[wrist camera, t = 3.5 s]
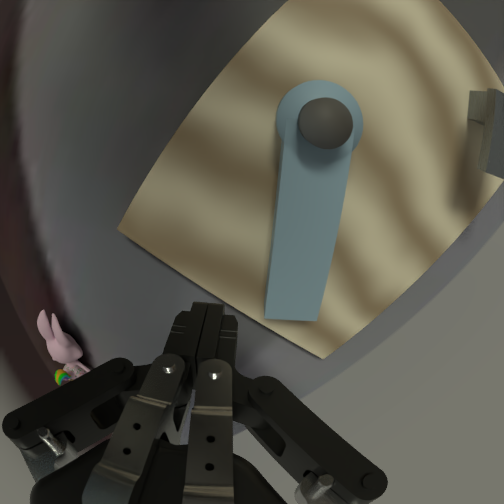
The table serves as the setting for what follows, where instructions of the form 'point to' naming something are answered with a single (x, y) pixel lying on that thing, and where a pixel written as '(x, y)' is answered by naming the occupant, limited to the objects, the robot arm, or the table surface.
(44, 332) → the rabbit figure
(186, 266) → the pivot board
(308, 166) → the link
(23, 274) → the table surface
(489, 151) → the block
